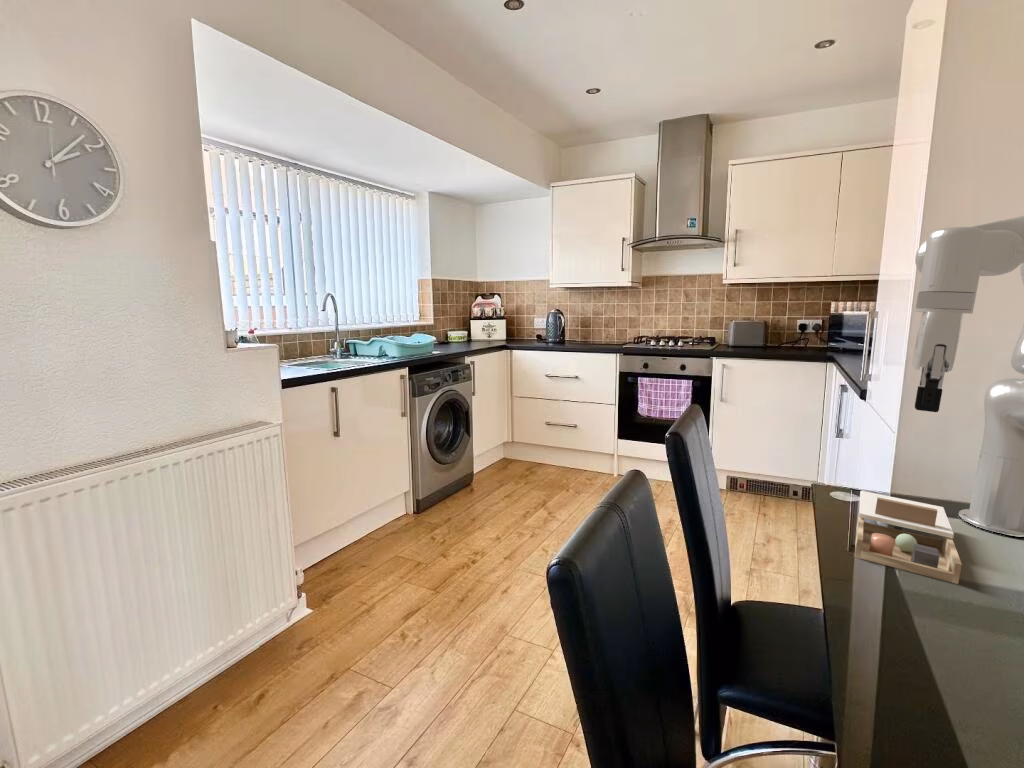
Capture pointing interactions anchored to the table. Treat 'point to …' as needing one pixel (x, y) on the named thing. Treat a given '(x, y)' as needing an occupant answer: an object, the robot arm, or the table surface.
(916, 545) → the charcoal block
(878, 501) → the sliding lid
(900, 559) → the oak box
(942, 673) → the table surface
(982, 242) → the robot arm
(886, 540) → the glossy peach egg
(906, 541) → the sage ball
